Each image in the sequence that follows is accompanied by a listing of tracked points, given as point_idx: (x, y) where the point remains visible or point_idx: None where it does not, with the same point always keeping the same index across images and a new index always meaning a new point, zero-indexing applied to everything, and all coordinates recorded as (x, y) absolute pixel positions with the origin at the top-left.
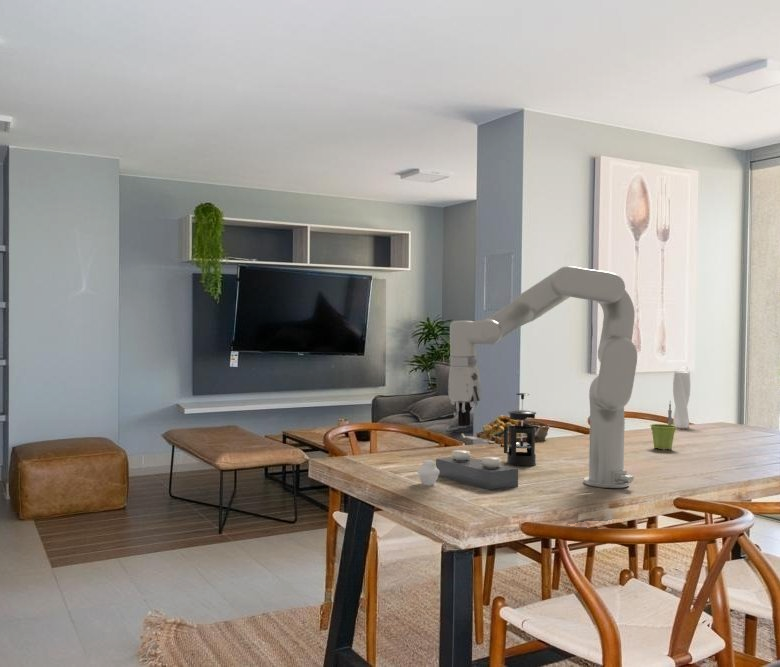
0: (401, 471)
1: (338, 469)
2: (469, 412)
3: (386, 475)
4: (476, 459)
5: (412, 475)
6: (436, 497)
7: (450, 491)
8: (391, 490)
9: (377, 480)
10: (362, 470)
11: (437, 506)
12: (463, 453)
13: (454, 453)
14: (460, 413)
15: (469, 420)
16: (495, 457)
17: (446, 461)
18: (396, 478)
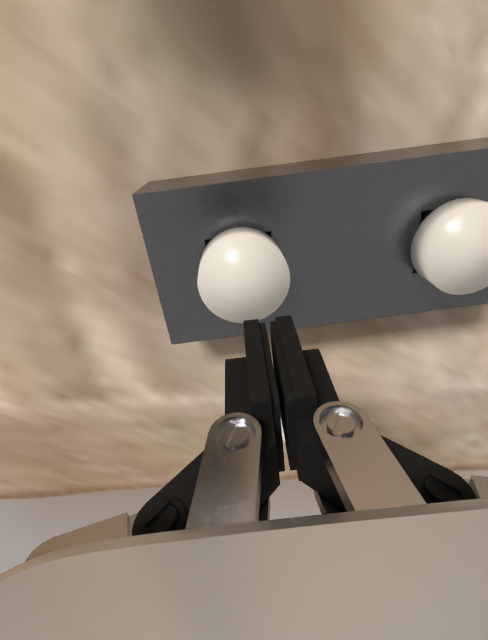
0: (72, 372)
1: (11, 490)
2: (315, 395)
3: (128, 427)
4: (257, 183)
5: (149, 370)
6: (422, 427)
7: (395, 375)
8: None
9: (187, 462)
10: (35, 452)
11: (481, 454)
12: (285, 294)
13: (249, 319)
14: (297, 471)
15: (321, 356)
16: (475, 221)
17: (241, 334)
18: (178, 421)
